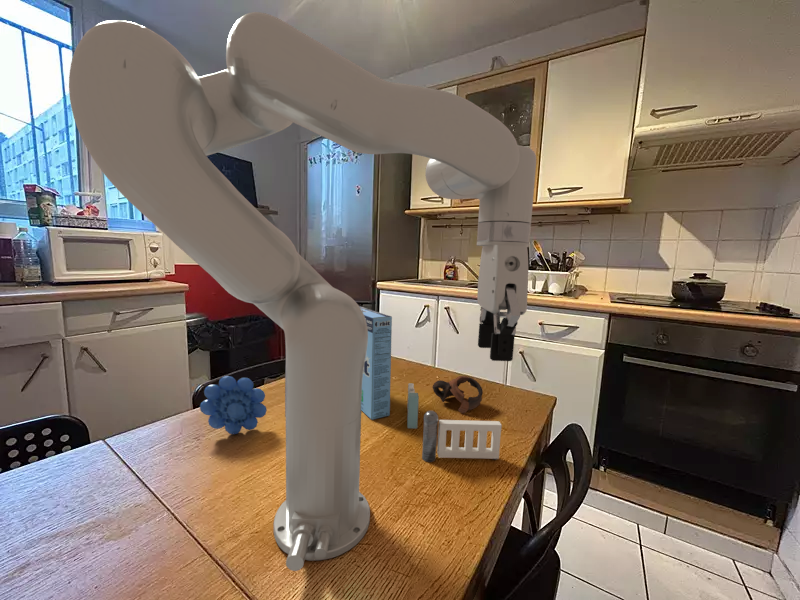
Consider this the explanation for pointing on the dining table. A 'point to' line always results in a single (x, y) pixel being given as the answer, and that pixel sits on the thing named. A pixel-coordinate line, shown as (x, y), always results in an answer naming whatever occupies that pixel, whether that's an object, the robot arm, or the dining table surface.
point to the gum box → (377, 365)
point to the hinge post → (429, 436)
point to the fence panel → (410, 389)
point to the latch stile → (412, 410)
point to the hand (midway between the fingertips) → (494, 352)
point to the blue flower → (233, 404)
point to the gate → (469, 439)
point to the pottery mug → (459, 392)
